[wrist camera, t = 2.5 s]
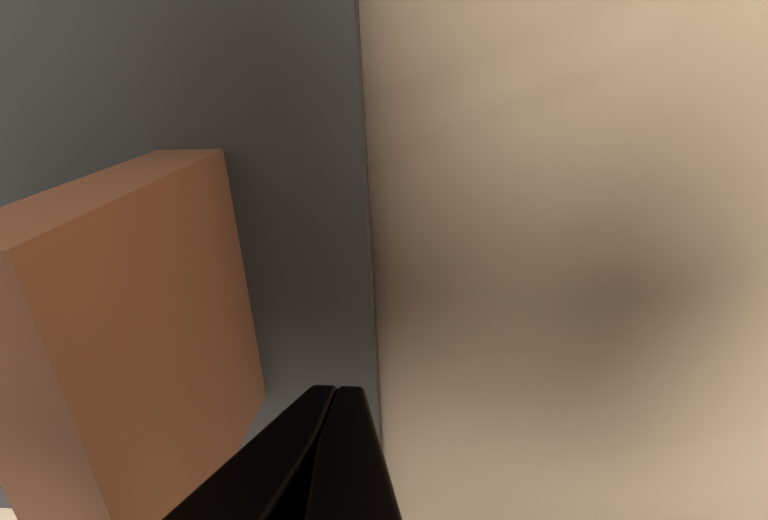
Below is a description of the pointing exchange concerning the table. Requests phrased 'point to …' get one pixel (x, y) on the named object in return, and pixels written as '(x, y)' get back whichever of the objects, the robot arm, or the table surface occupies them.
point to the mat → (219, 131)
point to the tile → (123, 340)
